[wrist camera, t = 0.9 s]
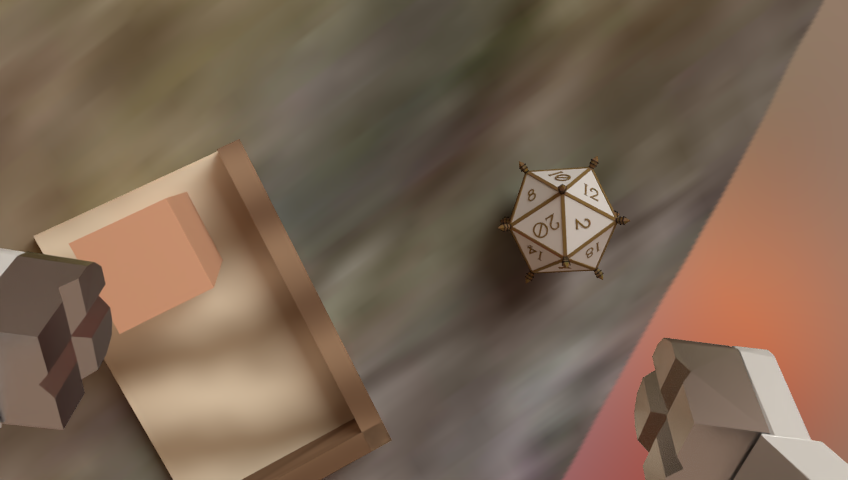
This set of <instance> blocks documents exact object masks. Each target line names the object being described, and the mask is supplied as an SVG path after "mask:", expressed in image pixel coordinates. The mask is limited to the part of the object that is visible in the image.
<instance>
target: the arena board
mask: <svg viewBox="0 0 848 480" xmlns="http://www.w3.org/2000/svg"><path fill="white" fill-rule="evenodd" d="M217 151H218V152H215V153H213V154H211V155H209V156H207V157H204V158H202V159H200V160H198V161H196V162H194V163H191V164H189V165H187V166H185V167H183V168H181V169H178V170H176V171H174V172H172V173H170V174H168V175H165V176H163V177H161V178H159V179H157V180H155V181H152V182H150V183H148V184H146V185H144V186H142V187H139V188H137V189H135V190H133V191H131V192H128V193H126V194H124V195H122V196H120V197H118V198H115V199H113V200H111V201H109V202H107V203H105V204H102V205H100V206H98V207H96V208H94V209H92V210H89V211H87V212H85V213H83V214H81V215H79V216H76V217H74V218H72V219H70V220H68V221H66V222H63V223H61V224H59V225H57V226H55V227H53V228H50V229H48V230H46V231H44V232H42V233H39V234H37V235H35V236H33V237H34V239H35V240H36V242H37V244H38V245H39V247H40V249H41V251H42V252H43V254H46V255H52V256H59V257H65V258H72V259H77V258H76V256H75V254H74V253H73V251H72V249H71V247H70V245H69V243H71V242H73V241H75V240H77V239H79V238H82V237H84V236H86V235H88V234H90V233H92V232H95V231H97V230H99V229H101V228H103V227H105V226H107V225H110V224H112V223H114V222H116V221H118V220H120V219H122V218H125V217H127V216H129V215H131V214H133V213H135V212H137V211H140V210H142V209H144V208H146V207H148V206H150V205H152V204H155V203H157V202H159V201H161V200H163V199H165V198H168V197H171V196H175V195H178V194H181V193H184V192H187V193H188V195H189V197H190V199H191V201H192V203H193V204H194V206H195V208H196V210H197V212H198V214H199V216H200V218H201V220H202V221H203V223H204V225H205V227H206V229H207V231H208V233H209V235H210V237H211V239H212V240H213V242H214V244H215V246H216V248H217V250H218V252H219V254H220V256H221V258H222V259H223V261H222V264H221V267H220V270H219V274H218V277H217V280H216V283H215V286H214V288H212V289H210V290H208V291H206V292H204V293H202V294H200V295H198V296H196V297H194V298H192V299H190V300H188V301H186V302H184V303H182V304H180V305H178V306H176V307H174V308H172V309H170V310H168V311H166V312H164V313H162V314H160V315H157V316H155V317H153V318H151V319H149V320H147V321H145V322H143V323H141V324H139V325H137V326H135V327H133V328H131V329H129V330H127V331H125V332H123V333H121V334H119V332H118V330H117V328H116V327H115V325H114V323H113V321H112V336H111V340H110V343H109V347H108V351H107V354H106V356H105V358H104V360H105V362H106V364H107V365H108V367H109V369H110V371H111V372H112V374H113V376H114V378H115V379H116V381H117V383H118V385H119V386H120V388H121V390H122V392H123V393H124V395H125V397H126V398H127V400H128V402H129V404H130V405H131V407H132V409H133V411H134V412H135V414H136V416H137V418H138V419H139V421H140V423H141V425H142V426H143V428H144V430H145V431H146V433H147V435H148V437H149V438H150V440H151V442H152V444H153V445H154V447H155V449H156V451H157V452H158V454H159V456H160V458H161V459H162V461H163V463H164V465H165V466H166V468H167V470H168V471H169V473H170V475H171V477H172V478H173V480H321V479H323V478H324V477H326V476H328V475H330V474H332V473H333V472H335V471H337V470H339V469H341V468H342V467H344V466H346V465H348V464H350V463H351V462H353V461H355V460H357V459H359V458H361V457H362V456H364V455H366V454H368V453H370V452H371V451H373V450H375V449H377V448H379V447H380V446H382V445H384V444H386V443H388V442H389V441H391V438H390V436H389V434H388V432H387V430H386V428H385V426H384V424H383V422H382V420H381V418H380V416H379V414H378V412H377V410H376V408H375V406H374V404H373V402H372V400H371V399H370V397H369V395H368V393H367V391H366V389H365V387H364V385H363V383H362V381H361V379H360V377H359V375H358V373H357V371H356V369H355V367H354V365H353V363H352V361H351V359H350V357H349V355H348V353H347V351H346V349H345V347H344V345H343V343H342V341H341V339H340V337H339V335H338V333H337V331H336V329H335V327H334V325H333V323H332V321H331V319H330V317H329V315H328V313H327V312H326V310H325V308H324V306H323V304H322V302H321V300H320V298H319V296H318V294H317V292H316V290H315V288H314V286H313V284H312V282H311V280H310V278H309V276H308V274H307V272H306V270H305V268H304V266H303V264H302V262H301V260H300V258H299V256H298V254H297V252H296V250H295V248H294V246H293V244H292V242H291V240H290V238H289V236H288V234H287V232H286V230H285V228H284V226H283V225H282V223H281V221H280V219H279V217H278V215H277V213H276V211H275V209H274V207H273V205H272V203H271V201H270V199H269V197H268V195H267V193H266V191H265V189H264V187H263V185H262V183H261V181H260V179H259V177H258V175H257V173H256V171H255V169H254V167H253V165H252V163H251V161H250V159H249V157H248V155H247V153H246V151H245V149H244V147H243V145H242V143H241V141H240V139H239V140H236V141H234V142H232V143H230V144H228V145H226V146H223V147H221V148H219V149H217Z"/></svg>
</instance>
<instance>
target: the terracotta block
mask: <svg viewBox="0 0 848 480" xmlns="http://www.w3.org/2000/svg"><path fill="white" fill-rule="evenodd" d="M69 245H70V247H71V249H72V251H73V253H74V254H75V256H76V258H77V259H78V260H84V261H91V262H95V263H97V264H99V265H100V266H102V271H103V275H104V279H105V283H106V284H105V286H104V287H103V289H102V291H101V292H100V294H99V296H100V297H101V298H102V299H103V300H104V301H105V302H106V303H107V304H108V306H109V307H110V310H111V315H112V321H113V323H114V325H115V327H116V328H117V330H118V332H119V334H121V333H123V332H125V331H127V330H129V329H131V328H133V327H135V326H137V325H139V324H141V323H143V322H145V321H147V320H149V319H151V318H153V317H155V316H157V315H160V314H162V313H164V312H166V311H168V310H170V309H172V308H174V307H176V306H178V305H180V304H182V303H184V302H186V301H188V300H190V299H192V298H194V297H196V296H198V295H200V294H202V293H204V292H206V291H208V290H210V289H212V288H214V286H215V283H216V280H217V277H218V274H219V270H220V267H221V264H222V261H223V259H222V258H221V256H220V254H219V252H218V250H217V248H216V246H215V244H214V242H213V240H212V239H211V237H210V235H209V233H208V231H207V229H206V227H205V225H204V223H203V221H202V220H201V218H200V216H199V214H198V212H197V210H196V208H195V206H194V204H193V203H192V201H191V199H190V197H189V195H188V193H187V192H184V193H181V194H178V195H175V196H171V197H168V198H165V199H163V200H161V201H159V202H157V203H155V204H152V205H150V206H148V207H146V208H144V209H142V210H140V211H137V212H135V213H133V214H131V215H129V216H127V217H125V218H122V219H120V220H118V221H116V222H114V223H112V224H110V225H107V226H105V227H103V228H101V229H99V230H97V231H95V232H92V233H90V234H88V235H86V236H84V237H82V238H79V239H77V240H75V241H73V242H71V243H69Z"/></svg>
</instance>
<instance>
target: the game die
mask: <svg viewBox="0 0 848 480" xmlns="http://www.w3.org/2000/svg"><path fill="white" fill-rule="evenodd" d="M597 164H598V156H597V157H595V158H594V159H591V162H590V166H589V167H582V168H567V169H552V170H537V171H529V170H528V168H527V166H526V164H524V163H522V162H520V161H519V167H520V168H519V169H521V170H522V171H523V172H524V173H525V175H524V178H523V181H522V184H521V187H520V190H519V193H518V196H517V199H516V202H515V205H514V209H513V212H512V215H511V218H509V217H507V218H506V217H504V218H503V219H502V220H501V222H502V223H503V224H501V226H499V227H498V228H499V229H501V230H502V231H503V232H504V231H508V230H509V229H510V231H511V233H512V235H513V237H514V239H515V241H516V243H517V245H518V247H519V249H520V251H521V253H522V255H523V257H524V259H525V261H526V263H527V265H528V267H529V269H530V272H529V273H527V275H526V276H525V277H526V283H528V282H530V281H532V278H533V277H534V276H533V275H534V273H550V272H572V271H594V272H595V275H596V277H597V278H600V279H602V280H603V273H602V272H601V270H599V269H598V265H599V263H600V261H601V259H602V256H603V254H604V252H605V250H606V247H607V245H608V243H609V241H610V238H611V236H612V234H613V232H614V229H615V227H616V225H617V223H618V224H620V225H621V224H623V225H625V224H626V223H627V222H629V221H630V220H628V219H627V218H626V217H624V216H623V217H620V218H617V217H618V216H619V215H620V214H619V213H618V212H616V211H614V210H613V208H612V206H611V204H610V202H609V200H608V198H607V196H606V194H605V192H604V190H603V188H602V186H601V184H600V182H599V180H598V178H597V176H596V174H595V172H594V170H593V169H594V167H597V166H596V165H597ZM522 171H521V172H522Z"/></svg>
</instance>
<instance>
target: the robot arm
mask: <svg viewBox="0 0 848 480" xmlns="http://www.w3.org/2000/svg"><path fill="white" fill-rule="evenodd" d="M105 284H106V283H105V279H104V275H103V271H102V266H100V265H99V264H97V263H95V262H91V261H84V260H78V259H72V258H65V257H59V256H52V255H46V254H40V253H33V252H22V251H15V250H9V249H3V248H0V428H1V427H2V425H1V424H11V425H21V426H31V427H41V428H50V429H60V430H64V428H65V426H66V425H67V423H68V421H69V419H70V418H71V416H72V414H73V412H74V411H75V409H76V407H77V406H78V404H79V402H80V400H81V399H82V397H83V395H84V393H85V392H84V388H83V384H82V379H83V378H85V377H86V376H88V375H90V374H91V373H93V372H95V371H96V370H98V369H99V367H100V365H101V363H102V361H103V360H104V358H105V356H106V354H107V351H108V347H109V343H110V340H111V336H112V315H111V310H110V307H109V306H108V304H107V303H106V302H105V301H104V300H103V299H102V298H101V297H100V296H99V294H100V292H101V291H102V289H103V287H104V286H105ZM652 357H653V361H654V366H655V371H653V372H651V373H650V374H648V375H647V376H645V377H643V379H642V382H641V385H640V387H639V390H638V392H637V397H636V404H635V428H636V434H637V439H638V441H639V442H640V443H641V444H642V445H643V446H644V447H645V449H646V450H647V451H648V452H649V454H648V456H647V458H646V460H645V463H644V465H643V468H644V474H645V479H646V480H848V464H847V463H846V462H845V461H843V460H842V459H841V458H840V457H839V456H838V455H836V454H835V453H834V452H833V451H832V450H831V449H830V448H828V447H827V446H826V445H825V444H824V443H823V442H818V441H812V440H811V438H810V436H809V434H808V432H807V429H806V427H805V425H804V422H803V420H802V418H801V416H800V413H799V411H798V409H797V407H796V404H795V402H794V400H793V398H792V395H791V393H790V391H789V389H788V386H787V384H786V382H785V379H784V377H783V375H782V373H781V370H780V368H779V366H778V364H777V361H776V359H775V357H774V355H773V354H772V353H770V352H769V351H768V350H762V349H755V348H746V347H737V346H732V347H730V346H725V345H717V344H710V343H702V342H693V341H685V340H677V339H670V338H663V339H662V341H660V342H659V344H658V345H657V347H656V349H655V352H654V354H653V356H652Z"/></svg>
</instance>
